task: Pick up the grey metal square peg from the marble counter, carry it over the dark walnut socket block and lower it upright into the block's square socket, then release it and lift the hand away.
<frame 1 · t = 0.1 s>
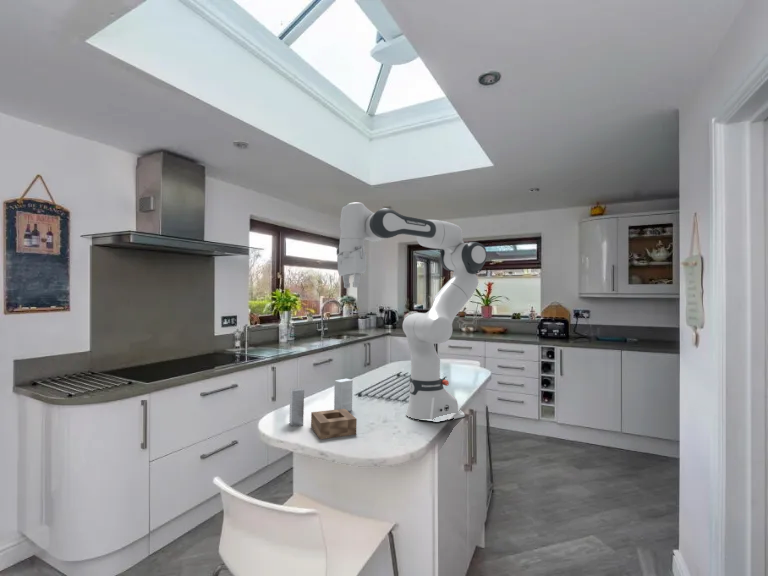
hand: (351, 287, 131), 48 cm above the countertop, tool pointing down, fingers open, 8 cm apart
metal peg: (296, 423, 130), on the countertop
skincare box: (342, 411, 147), on the countertop
walnut socket block: (333, 430, 124), on the countertop
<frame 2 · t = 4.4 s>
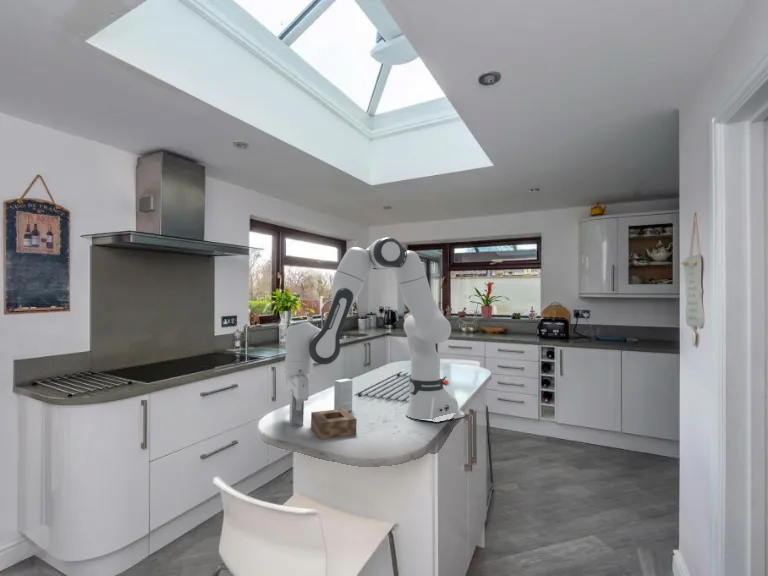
hand: (296, 407, 131), 6 cm above the countertop, tool pointing down, fingers closed on metal peg, 4 cm apart
metal peg: (296, 423, 130), on the countertop, touching gripper
everything else where it was.
when the fingers open (7 cm above the countertop, at t = 10.0 s): metal peg stays where it is, resting on walnut socket block.
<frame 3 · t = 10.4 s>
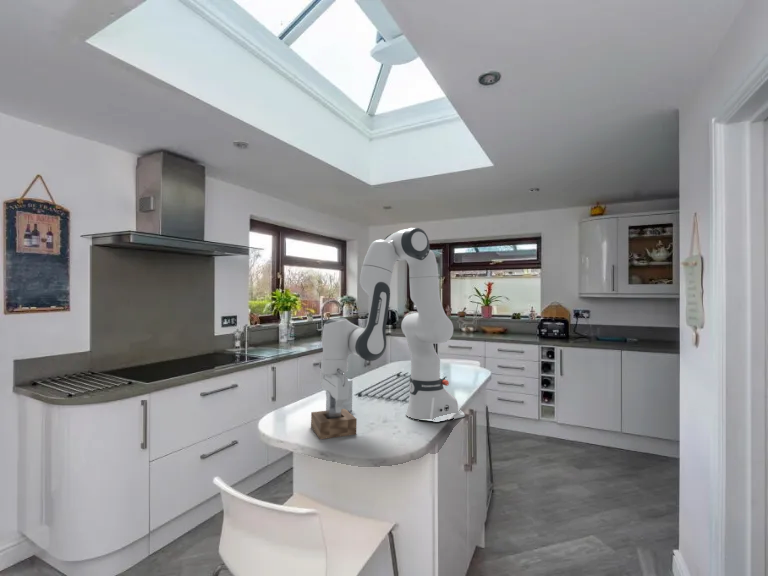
hand: (333, 408, 125), 7 cm above the countertop, tool pointing down, fingers open, 8 cm apart
metal peg: (333, 427, 125), point 1 cm above the countertop, touching walnut socket block
everything else where it was.
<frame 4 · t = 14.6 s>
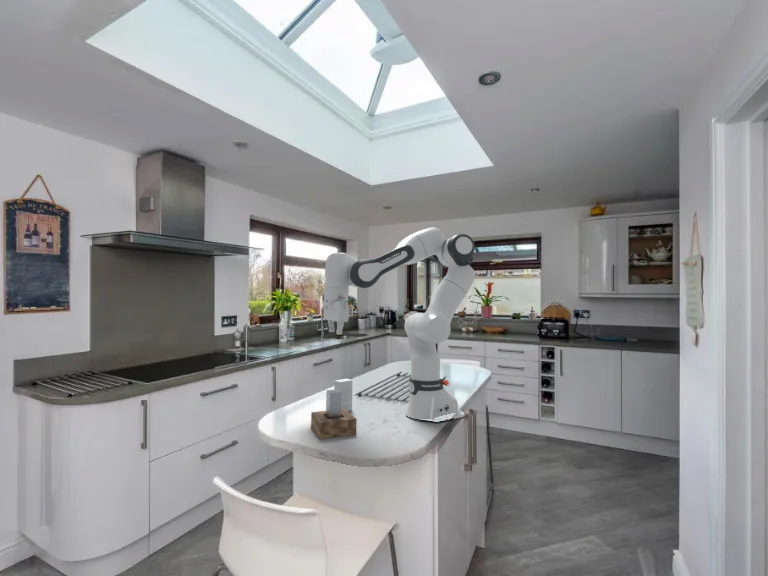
hand: (335, 333, 139), 31 cm above the countertop, tool pointing down, fingers open, 8 cm apart
nothing on the countertop moved.
at the end: metal peg 0.0 cm off-centre on the walnut socket block, point 1.0 cm above the walnut socket block's base; metal peg tilted 0°; the gripper is holding nothing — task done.
